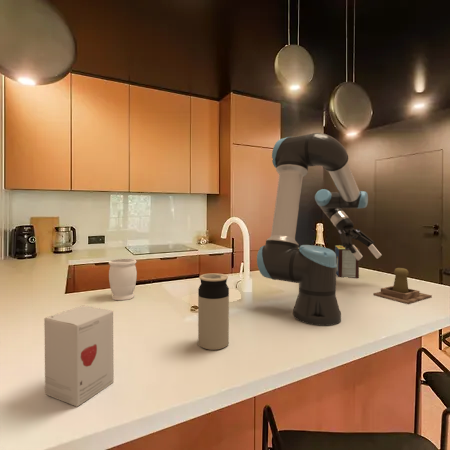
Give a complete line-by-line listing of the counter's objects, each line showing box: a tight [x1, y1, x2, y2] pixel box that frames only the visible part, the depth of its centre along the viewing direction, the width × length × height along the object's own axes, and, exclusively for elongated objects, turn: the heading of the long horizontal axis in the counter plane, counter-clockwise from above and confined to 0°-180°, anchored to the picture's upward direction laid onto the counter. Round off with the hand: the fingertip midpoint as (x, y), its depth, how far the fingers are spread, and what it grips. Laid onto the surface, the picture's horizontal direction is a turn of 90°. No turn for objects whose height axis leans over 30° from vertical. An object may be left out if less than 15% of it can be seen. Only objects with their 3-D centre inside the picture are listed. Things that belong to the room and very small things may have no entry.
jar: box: [108, 258, 138, 301], centre depth 120 cm, size 11×10×15 cm
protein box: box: [334, 245, 360, 279], centre depth 165 cm, size 10×15×16 cm
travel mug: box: [197, 272, 230, 351], centre depth 78 cm, size 8×8×18 cm
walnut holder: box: [373, 285, 433, 305], centre depth 124 cm, size 18×14×3 cm
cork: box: [392, 267, 410, 293], centre depth 123 cm, size 6×6×11 cm
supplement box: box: [43, 304, 115, 408], centre depth 58 cm, size 9×9×15 cm
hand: (370, 257), depth 131 cm, fingers open, 13 cm apart
